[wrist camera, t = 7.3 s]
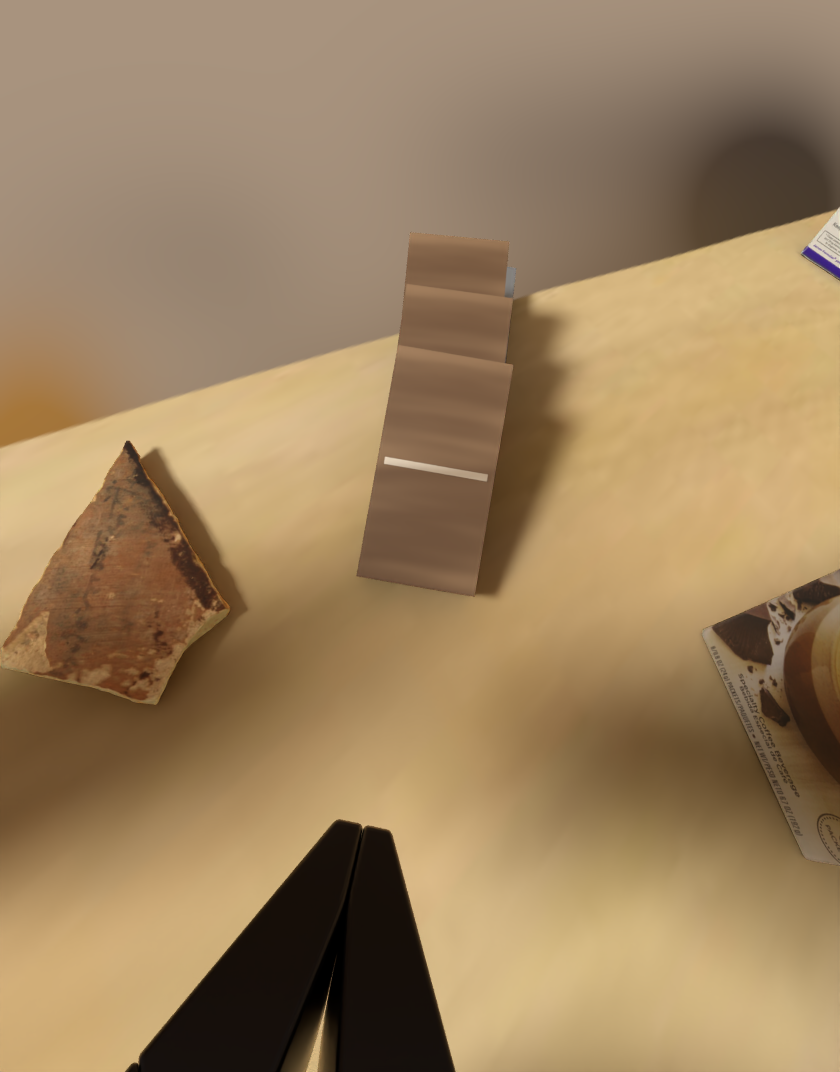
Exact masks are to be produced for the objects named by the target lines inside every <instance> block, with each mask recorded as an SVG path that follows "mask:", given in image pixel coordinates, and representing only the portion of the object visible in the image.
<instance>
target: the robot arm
mask: <svg viewBox="0 0 840 1072" xmlns="http://www.w3.org/2000/svg"><path fill="white" fill-rule="evenodd" d="M362 829H363V828H362V826H361V824H359V823H355V822H350V821H345V820H340V819H339V820H336V821H335V822H334V823H333V824H332V825H331V826H330V827H329V828H328V830H327V831H326V832H325V833H324V834H323V836H322V837H321V838H320V839H319V840H318V842H317V843H316V844H315V845H314V846H313V848H312V849H311V850H310V851H309V852H308V854H307V855H306V856H305V857H304V858H303V860H302V861H301V862H300V863H299V864H298V866H297V867H296V868H295V869H294V870H293V872H292V873H291V874H290V875H289V876H288V878H287V879H286V880H285V881H284V882H283V883H282V885H281V886H280V887H279V888H278V889H277V891H276V892H275V893H274V894H273V895H272V897H271V898H270V899H269V900H268V901H267V903H266V904H265V905H264V906H263V907H262V909H261V910H260V911H259V912H258V913H257V915H256V916H255V917H254V918H253V919H252V921H251V922H250V923H249V924H248V925H247V927H246V928H245V929H244V930H243V931H242V933H241V934H240V935H239V936H238V937H237V939H236V940H235V941H234V942H233V943H232V945H231V946H230V947H229V948H228V949H227V951H226V952H225V953H224V954H223V955H222V957H221V958H220V959H219V960H218V961H217V963H216V964H215V965H214V966H213V967H212V969H211V970H210V971H209V972H208V973H207V975H206V976H205V977H204V978H203V979H202V981H201V982H200V983H199V984H198V985H197V987H196V988H195V989H194V990H193V991H192V993H191V994H190V995H189V996H188V997H187V999H186V1000H185V1001H184V1002H183V1003H182V1005H181V1006H180V1007H179V1008H178V1009H177V1011H176V1012H175V1013H174V1014H173V1015H172V1017H171V1018H170V1019H169V1020H168V1021H167V1023H166V1024H165V1025H164V1026H163V1027H162V1029H161V1030H160V1031H159V1032H158V1033H157V1034H156V1036H155V1037H154V1038H153V1039H152V1040H151V1042H150V1043H149V1044H148V1045H147V1046H146V1048H145V1049H144V1050H143V1051H142V1052H141V1054H140V1056H139V1061H138V1063H132V1064H131V1065H130V1066H129V1068H128V1069H127V1070H126V1071H125V1072H306V1070H307V1067H308V1063H309V1060H310V1057H311V1054H312V1050H313V1047H314V1044H315V1041H316V1038H317V1034H318V1031H319V1027H320V1024H321V1020H322V1017H323V1013H324V1009H325V1005H326V1001H327V1005H326V1011H325V1017H324V1024H323V1031H322V1038H321V1046H320V1055H319V1063H318V1072H455V1068H454V1064H453V1060H452V1057H451V1053H450V1049H449V1045H448V1042H447V1038H446V1034H445V1030H444V1027H443V1023H442V1019H441V1015H440V1012H439V1008H438V1004H437V1000H436V997H435V993H434V989H433V985H432V982H431V978H430V974H429V970H428V967H427V963H426V959H425V955H424V952H423V948H422V944H421V940H420V937H419V933H418V929H417V925H416V922H415V918H414V914H413V910H412V907H411V903H410V899H409V895H408V892H407V888H406V884H405V880H404V877H403V873H402V869H401V865H400V862H399V858H398V854H397V850H396V847H395V843H394V839H393V836H392V834H391V832H390V831H389V830H387V829H382V828H378V827H373V826H365V827H364V829H363V832H362ZM361 835H362V836H361ZM360 840H361V841H360ZM334 964H335V965H334ZM333 969H334V970H333ZM332 974H333V975H332ZM331 978H332V980H331ZM330 983H331V985H330ZM329 988H330V990H329ZM328 992H329V995H328ZM327 996H328V1000H327Z"/></svg>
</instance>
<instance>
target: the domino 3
mask: <svg viewBox="0 0 840 1072" xmlns="http://www.w3.org/2000/svg"><path fill="white" fill-rule="evenodd" d="M513 366H514V365H512V364H506V363H500V362H495V361H489V360H483V359H477V358H472V357H466V356H460V355H454V354H448V353H443V352H437V351H431V350H425V349H420V348H414V347H408V346H402V345H398V349H397V354H396V360H395V365H394V371H393V377H392V382H391V388H390V393H389V399H388V404H387V410H386V415H385V421H384V427H383V432H382V438H381V443H380V449H379V454H378V460H377V465H376V471H375V476H374V482H373V488H372V493H371V499H370V504H369V510H368V515H367V521H366V526H365V532H364V538H363V543H362V549H361V554H360V560H359V565H358V571H357V576H359V577H365V578H370V579H376V580H382V581H387V582H393V583H399V584H404V585H410V586H416V587H422V588H427V589H433V590H439V591H444V592H450V593H456V594H462V595H467V596H473V597H475V591H476V585H477V579H478V573H479V567H480V561H481V555H482V549H483V543H484V537H485V531H486V526H487V520H488V514H489V508H490V502H491V496H492V490H493V484H494V478H495V472H496V466H497V460H498V454H499V449H500V443H501V437H502V431H503V425H504V419H505V413H506V407H507V401H508V395H509V389H510V383H511V378H512V372H513Z"/></svg>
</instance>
